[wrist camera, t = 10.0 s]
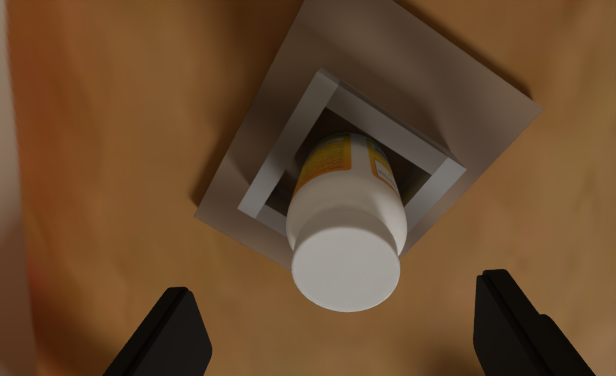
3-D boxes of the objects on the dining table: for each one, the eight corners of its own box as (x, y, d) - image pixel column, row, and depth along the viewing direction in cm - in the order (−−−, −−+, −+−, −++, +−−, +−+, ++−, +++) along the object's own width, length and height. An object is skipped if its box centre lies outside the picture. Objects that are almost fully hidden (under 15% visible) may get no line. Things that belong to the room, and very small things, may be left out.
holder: (354, 297, 26) (355, 339, 22) (199, 209, 24) (173, 240, 21) (534, 105, 18) (579, 122, 15) (329, -42, 17) (323, -64, 13)
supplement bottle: (295, 197, 22) (259, 307, 13) (315, 120, 19) (287, 189, 10) (373, 218, 22) (390, 341, 13) (402, 143, 19) (447, 232, 10)
